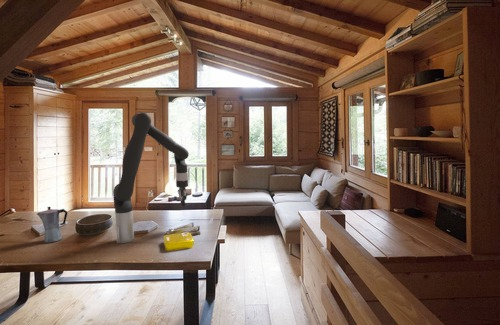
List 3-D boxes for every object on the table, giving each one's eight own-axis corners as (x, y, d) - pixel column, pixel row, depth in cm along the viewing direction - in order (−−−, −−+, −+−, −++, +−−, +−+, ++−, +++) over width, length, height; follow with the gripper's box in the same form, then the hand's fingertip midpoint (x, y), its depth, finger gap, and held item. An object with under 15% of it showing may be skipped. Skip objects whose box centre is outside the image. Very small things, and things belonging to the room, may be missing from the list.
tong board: (170, 239, 163) (170, 237, 163) (166, 233, 173) (165, 231, 173) (200, 234, 172) (200, 231, 172) (194, 228, 182) (194, 226, 182)
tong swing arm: (175, 232, 170) (175, 229, 170) (173, 232, 171) (173, 228, 170) (194, 226, 181) (193, 223, 181) (192, 226, 182) (192, 222, 182)
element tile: (163, 242, 161) (163, 234, 160) (190, 238, 166) (189, 230, 166) (165, 252, 147) (165, 243, 146) (194, 248, 152) (194, 239, 152)
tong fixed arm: (169, 235, 165) (169, 231, 165) (168, 233, 169) (167, 229, 169) (200, 230, 174) (199, 226, 174) (197, 228, 178) (197, 224, 178)
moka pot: (41, 239, 166) (38, 205, 164) (71, 235, 171) (69, 203, 169) (35, 244, 157) (32, 209, 155) (67, 241, 162) (65, 207, 160)
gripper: (173, 178, 185) (174, 204, 186) (179, 181, 173) (180, 208, 175) (184, 177, 188) (185, 202, 190) (191, 180, 177) (191, 207, 178)
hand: (182, 205), depth 182 cm, fingers closed
